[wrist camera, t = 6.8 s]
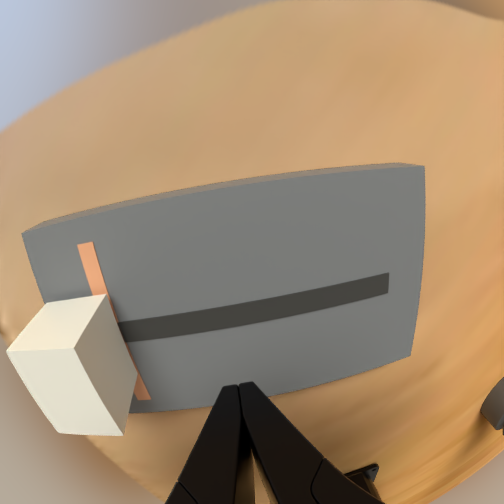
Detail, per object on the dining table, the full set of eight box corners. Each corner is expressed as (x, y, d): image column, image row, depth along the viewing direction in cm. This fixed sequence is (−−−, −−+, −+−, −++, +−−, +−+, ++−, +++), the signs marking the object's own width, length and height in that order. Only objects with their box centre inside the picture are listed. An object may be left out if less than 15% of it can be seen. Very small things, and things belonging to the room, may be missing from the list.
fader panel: (393, 337, 16) (410, 356, 14) (108, 389, 15) (100, 414, 13) (399, 162, 13) (425, 166, 11) (43, 222, 12) (20, 233, 10)
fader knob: (137, 373, 12) (123, 435, 9) (81, 377, 12) (58, 432, 8) (106, 293, 11) (73, 347, 7) (46, 302, 10) (5, 351, 7)
